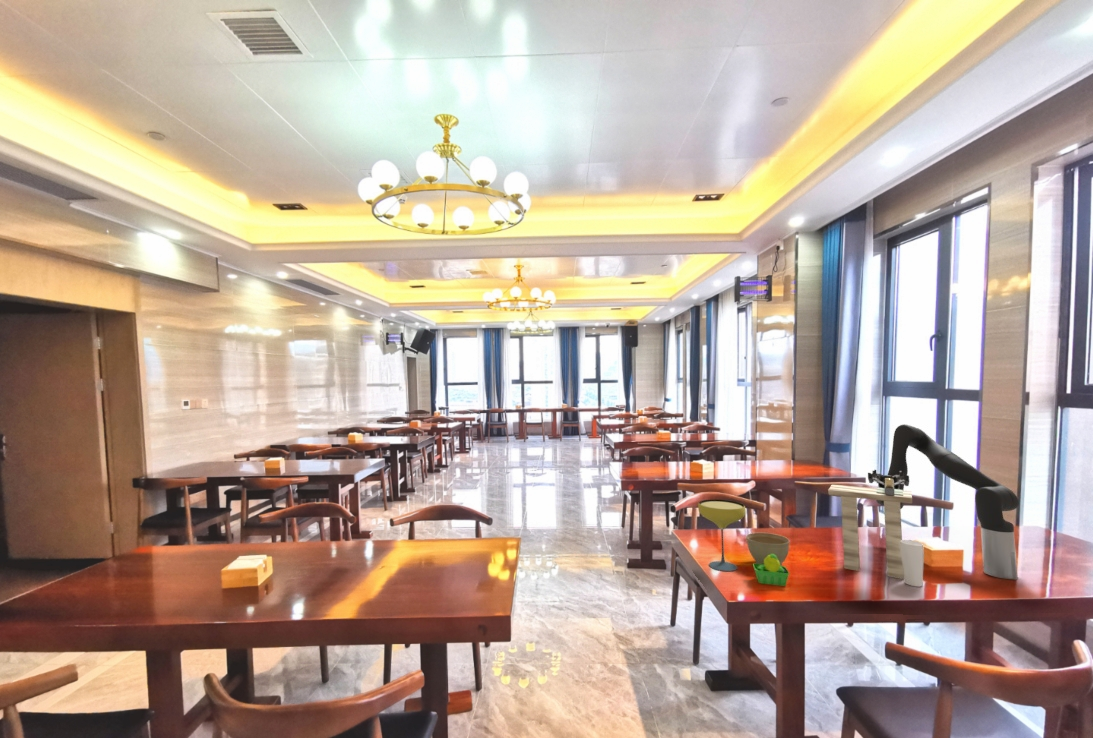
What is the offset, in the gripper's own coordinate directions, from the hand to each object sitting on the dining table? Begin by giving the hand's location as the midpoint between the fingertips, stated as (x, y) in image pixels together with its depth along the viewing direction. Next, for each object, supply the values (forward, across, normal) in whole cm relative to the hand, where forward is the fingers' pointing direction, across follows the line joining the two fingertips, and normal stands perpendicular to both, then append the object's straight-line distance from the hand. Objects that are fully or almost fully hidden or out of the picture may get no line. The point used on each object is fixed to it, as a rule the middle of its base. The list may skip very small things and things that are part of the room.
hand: (887, 472), depth 195 cm
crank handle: (+13, 0, +13) cm, 18 cm away
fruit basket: (+27, -37, +58) cm, 74 cm away
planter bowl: (+11, -41, +49) cm, 65 cm away
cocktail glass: (+22, -56, +55) cm, 81 cm away
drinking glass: (+3, +6, +44) cm, 45 cm away
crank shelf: (+1, -6, +43) cm, 43 cm away
